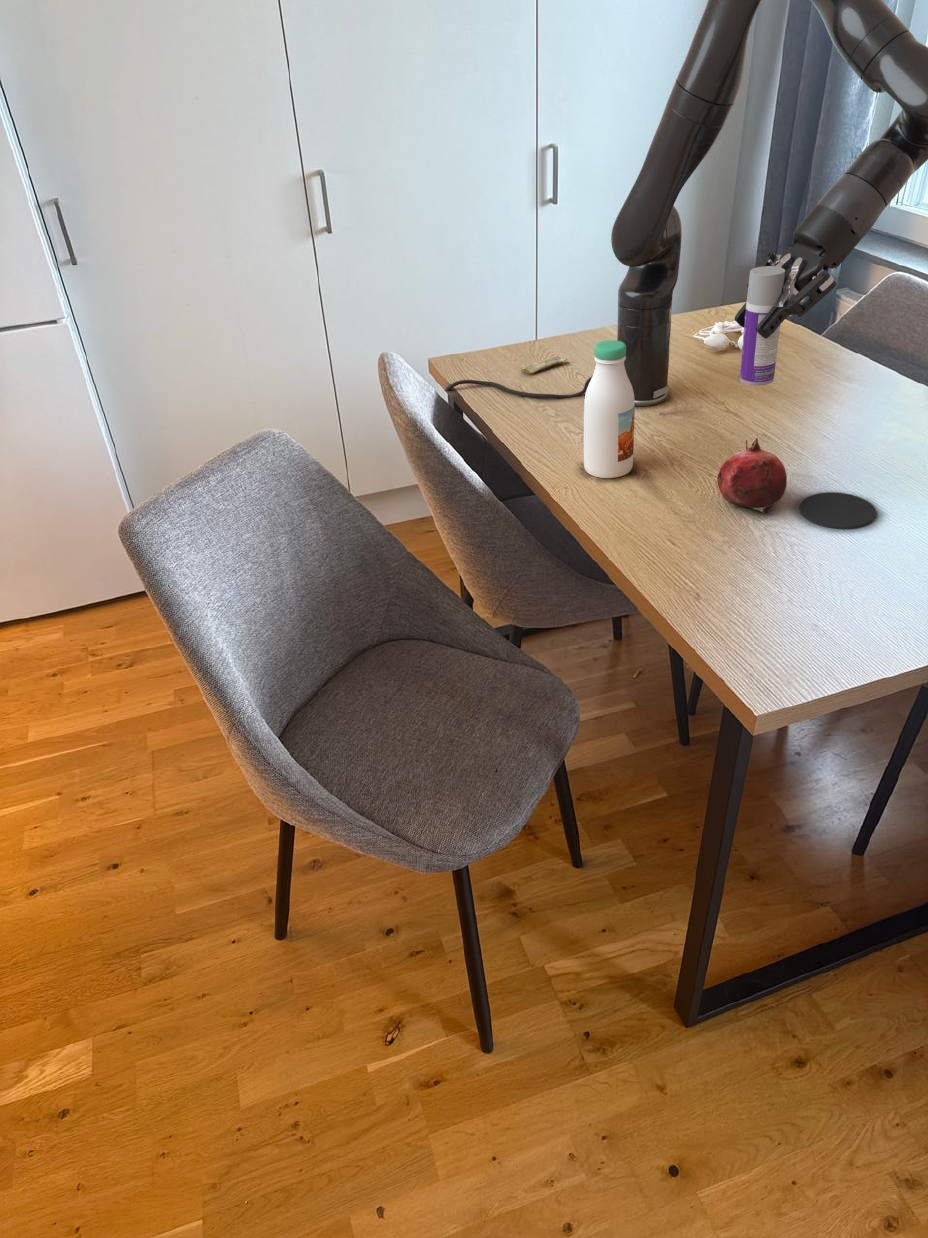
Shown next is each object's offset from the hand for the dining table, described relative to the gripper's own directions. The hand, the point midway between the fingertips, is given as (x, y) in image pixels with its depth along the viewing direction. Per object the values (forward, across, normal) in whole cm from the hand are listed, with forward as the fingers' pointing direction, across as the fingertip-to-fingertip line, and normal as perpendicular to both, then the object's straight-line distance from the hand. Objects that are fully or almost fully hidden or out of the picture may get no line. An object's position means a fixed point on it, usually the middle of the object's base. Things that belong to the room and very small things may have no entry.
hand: (750, 328), depth 124 cm
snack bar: (+21, -59, +11) cm, 64 cm away
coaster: (+11, +14, +22) cm, 28 cm away
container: (+4, 0, +7) cm, 8 cm away
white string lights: (-6, -54, +39) cm, 67 cm away
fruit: (+18, +7, +15) cm, 25 cm away
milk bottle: (+27, -12, +6) cm, 30 cm away
